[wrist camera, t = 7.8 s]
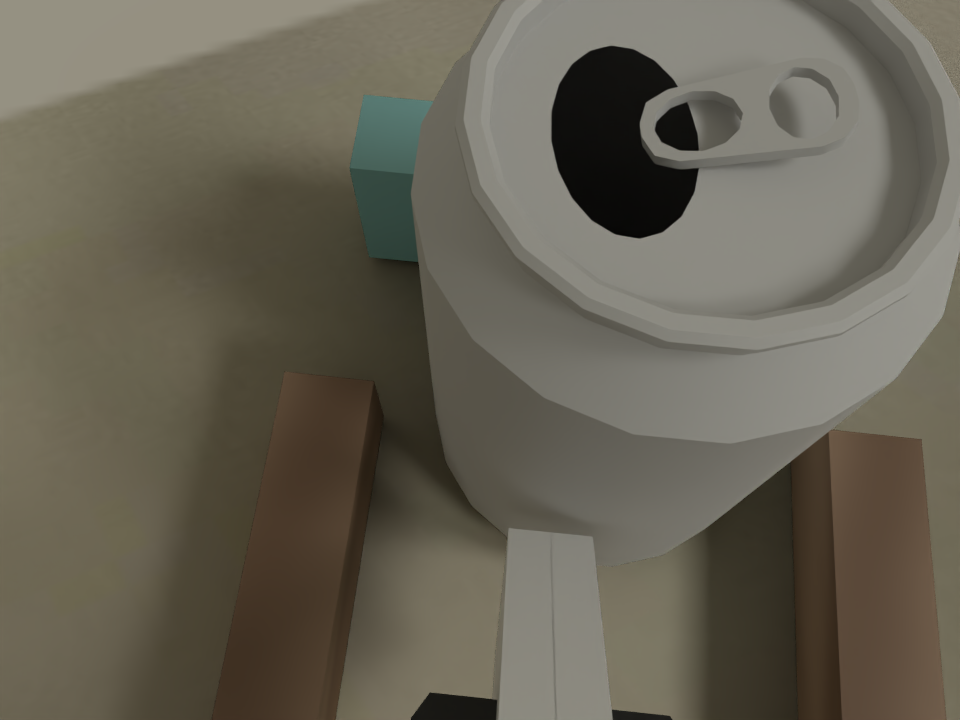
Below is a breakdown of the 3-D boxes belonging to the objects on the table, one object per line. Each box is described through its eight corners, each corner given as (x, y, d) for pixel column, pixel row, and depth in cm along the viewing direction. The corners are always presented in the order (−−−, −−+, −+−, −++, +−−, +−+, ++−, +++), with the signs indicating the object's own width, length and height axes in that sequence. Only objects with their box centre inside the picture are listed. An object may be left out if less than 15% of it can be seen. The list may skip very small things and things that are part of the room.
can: (431, 290, 23) (394, -117, 12) (713, 276, 23) (944, -136, 12) (443, 582, 20) (410, 414, 9) (766, 563, 20) (1133, 376, 9)
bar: (825, 236, 23) (894, 145, 19) (829, 304, 22) (900, 222, 19) (380, 192, 23) (363, 94, 20) (369, 256, 23) (349, 167, 19)
